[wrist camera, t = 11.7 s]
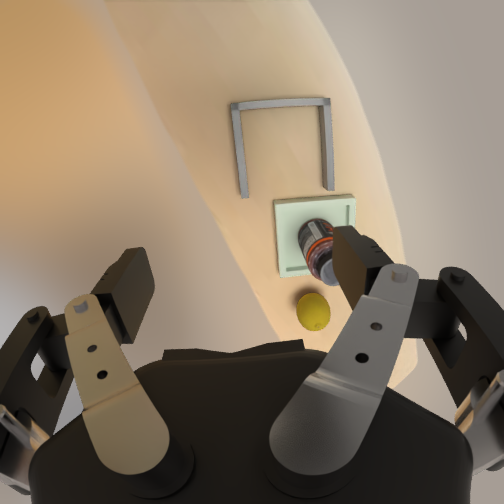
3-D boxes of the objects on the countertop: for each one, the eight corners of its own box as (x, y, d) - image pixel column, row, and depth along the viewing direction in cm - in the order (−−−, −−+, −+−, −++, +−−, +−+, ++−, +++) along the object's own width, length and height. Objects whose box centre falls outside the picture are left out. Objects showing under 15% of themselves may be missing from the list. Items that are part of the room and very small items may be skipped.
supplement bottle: (341, 231, 44) (368, 267, 34) (317, 259, 46) (337, 301, 36) (313, 209, 42) (335, 241, 32) (288, 239, 44) (302, 279, 34)
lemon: (312, 278, 48) (323, 307, 41) (329, 297, 50) (341, 326, 43) (286, 297, 50) (293, 327, 43) (305, 314, 52) (313, 345, 45)
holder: (231, 104, 36) (230, 103, 33) (324, 98, 35) (330, 98, 33) (241, 193, 41) (241, 198, 39) (329, 186, 41) (334, 190, 39)
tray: (273, 200, 42) (275, 204, 40) (351, 194, 42) (355, 198, 40) (278, 271, 47) (280, 277, 46) (348, 263, 47) (352, 269, 45)
